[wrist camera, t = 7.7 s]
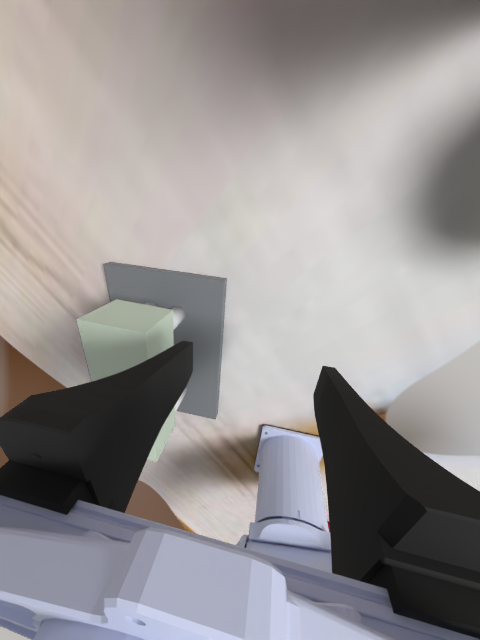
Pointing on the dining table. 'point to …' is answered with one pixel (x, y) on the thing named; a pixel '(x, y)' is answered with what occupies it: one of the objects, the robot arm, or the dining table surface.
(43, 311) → the dining table surface
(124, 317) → the pale green block
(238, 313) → the dining table surface
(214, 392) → the peg stand
